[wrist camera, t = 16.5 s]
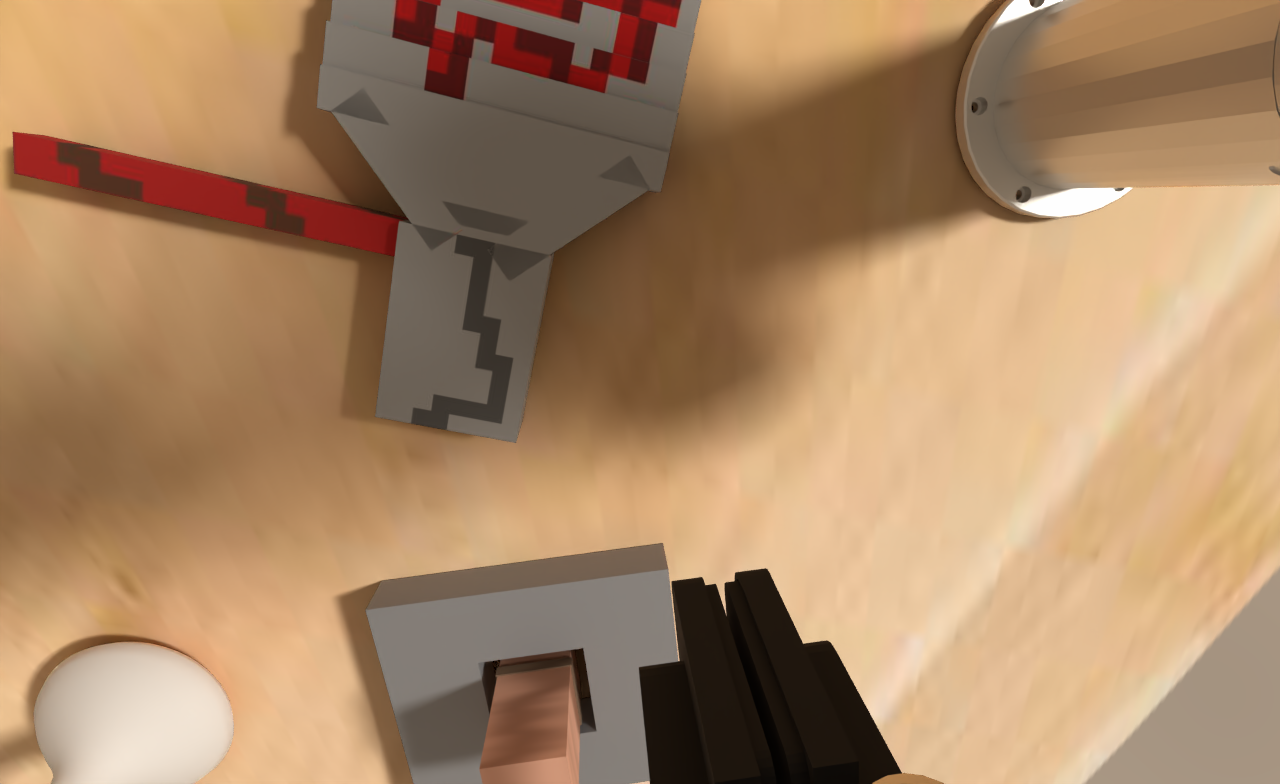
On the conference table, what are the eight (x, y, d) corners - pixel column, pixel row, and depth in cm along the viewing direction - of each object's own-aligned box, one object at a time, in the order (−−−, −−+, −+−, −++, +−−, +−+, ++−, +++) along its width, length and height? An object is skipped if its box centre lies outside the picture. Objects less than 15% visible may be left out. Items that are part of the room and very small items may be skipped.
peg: (572, 629, 43) (567, 754, 33) (582, 686, 44) (580, 822, 34) (502, 639, 42) (476, 767, 33) (514, 696, 44) (492, 835, 34)
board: (662, 543, 41) (668, 569, 38) (684, 738, 46) (690, 774, 43) (381, 580, 40) (365, 610, 38) (432, 775, 45) (422, 814, 42)
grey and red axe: (-22, -233, 25) (708, -18, 29) (54, -179, 29) (696, 5, 33) (4, 348, 32) (599, 458, 36) (64, 333, 35) (599, 434, 39)
